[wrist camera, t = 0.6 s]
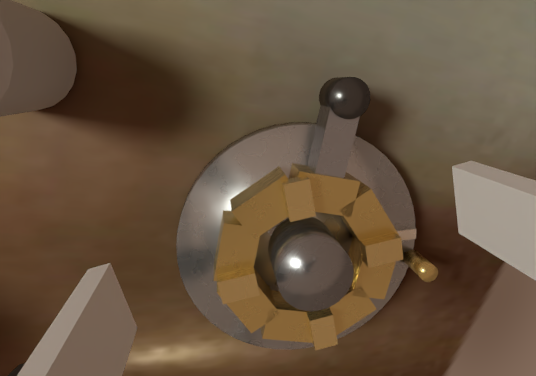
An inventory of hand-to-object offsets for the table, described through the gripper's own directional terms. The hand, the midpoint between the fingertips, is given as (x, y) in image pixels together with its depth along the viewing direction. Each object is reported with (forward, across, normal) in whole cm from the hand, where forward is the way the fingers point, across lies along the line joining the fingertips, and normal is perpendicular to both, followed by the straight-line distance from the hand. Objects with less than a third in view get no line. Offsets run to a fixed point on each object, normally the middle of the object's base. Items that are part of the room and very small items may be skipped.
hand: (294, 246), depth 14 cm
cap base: (+20, +2, -10) cm, 23 cm away
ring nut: (+18, +4, -6) cm, 19 cm away
